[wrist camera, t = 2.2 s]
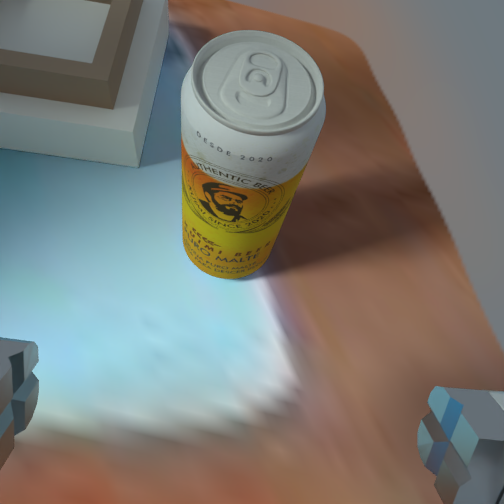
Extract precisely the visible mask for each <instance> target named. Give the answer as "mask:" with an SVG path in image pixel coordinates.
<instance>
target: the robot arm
mask: <svg viewBox="0 0 504 504" xmlns="http://www.w3.org/2000/svg"><path fill="white" fill-rule="evenodd" d="M38 361H39V359H38V346H37V345H36V343H35V342H33V341H25V340H17V339H9V338H2V337H0V470H1V468H2V467H3V465H4V463H5V462H6V460H7V458H8V457H9V455H10V454H11V452H12V450H13V449H14V436H15V435H16V434H18V433H20V432H22V431H23V430H25V429H26V427H27V426H28V424H29V422H30V420H31V419H32V416H33V413H34V410H35V408H36V405H37V400H38V393H39V380H38V379H37V377H36V376H35V375H34V374H33V372H32V370H33V368H34V367H35V366H36V364H37V363H38ZM428 405H429V407H430V409H431V412H430V413H429V414H428V415H426V416H425V417H424V418H423V419H421V423H420V426H419V430H418V450H419V454H420V457H421V459H422V461H423V464H424V466H425V467H426V468H427V469H429V470H430V471H431V472H432V473H433V474H435V475H436V476H437V477H436V480H435V483H434V486H435V488H436V490H437V492H438V494H439V496H440V498H441V500H442V502H443V504H504V391H490V390H473V389H462V388H450V387H439V386H436V387H435V388H434V389H433V390H432V392H431V394H430V396H429V399H428Z"/></svg>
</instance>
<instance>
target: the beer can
mask: <svg viewBox="0 0 504 504" xmlns="http://www.w3.org/2000/svg"><path fill="white" fill-rule="evenodd" d="M325 115H326V104H325V98H324V83H323V78H322V74H321V72H320V69H319V68H318V66H317V64H316V63H315V61H314V60H313V59H312V57H311V56H310V55H309V54H308V53H307V52H306V51H305V50H304V49H302V48H301V47H300V46H298V45H297V44H295V43H294V42H292V41H290V40H288V39H286V38H284V37H281V36H279V35H276V34H272V33H268V32H264V31H256V30H241V31H234V32H229V33H226V34H222V35H220V36H218V37H216V38H214V39H212V40H210V41H209V42H208V43H206V44H205V45H204V46H203V47H202V48H201V49H200V51H199V52H198V53H197V55H196V57H195V59H194V61H193V64H192V66H191V68H190V69H189V71H188V72H187V74H186V76H185V78H184V80H183V83H182V88H181V149H182V229H183V244H184V248H185V251H186V253H187V255H188V257H189V258H190V260H191V261H192V262H193V263H194V265H196V266H197V267H198V268H199V269H200V270H202V271H203V272H205V273H207V274H209V275H211V276H214V277H218V278H223V279H236V278H241V277H245V276H247V275H250V274H252V273H254V272H255V271H256V270H258V269H259V268H260V267H261V266H262V265H263V264H264V263H265V262H266V260H267V259H268V257H269V255H270V252H271V250H272V248H273V245H274V243H275V240H276V238H277V235H278V233H279V231H280V228H281V226H282V223H283V221H284V218H285V216H286V214H287V211H288V209H289V206H290V204H291V201H292V199H293V197H294V194H295V192H296V189H297V187H298V184H299V182H300V180H301V177H302V175H303V172H304V170H305V167H306V165H307V163H308V160H309V158H310V155H311V153H312V150H313V148H314V146H315V143H316V141H317V138H318V136H319V133H320V131H321V129H322V126H323V123H324V120H325Z"/></svg>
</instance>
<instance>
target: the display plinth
mask: <svg viewBox="0 0 504 504" xmlns="http://www.w3.org/2000/svg"><path fill="white" fill-rule="evenodd" d="M168 36H169V16H168V0H0V148H4V149H11V150H18V151H25V152H32V153H39V154H46V155H53V156H60V157H67V158H74V159H81V160H88V161H95V162H101V163H108V164H115V165H122V166H129V167H136V168H139V163H140V159H141V155H142V150H143V146H144V142H145V137H146V133H147V128H148V124H149V120H150V115H151V111H152V106H153V102H154V98H155V93H156V89H157V84H158V80H159V76H160V71H161V67H162V62H163V58H164V54H165V49H166V45H167V40H168Z"/></svg>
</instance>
